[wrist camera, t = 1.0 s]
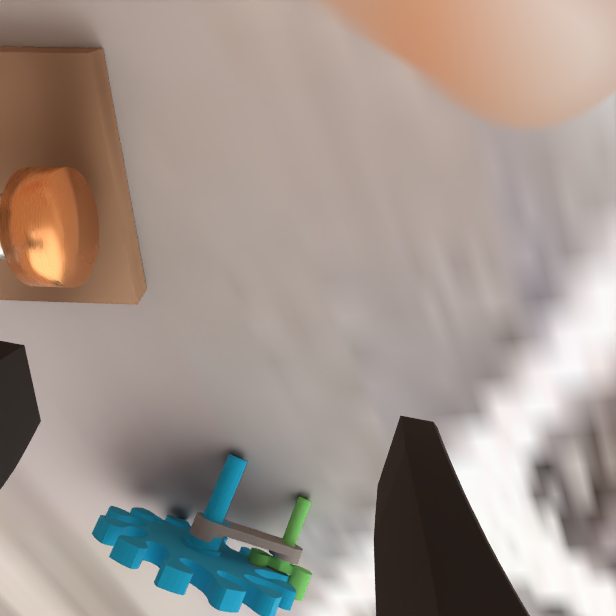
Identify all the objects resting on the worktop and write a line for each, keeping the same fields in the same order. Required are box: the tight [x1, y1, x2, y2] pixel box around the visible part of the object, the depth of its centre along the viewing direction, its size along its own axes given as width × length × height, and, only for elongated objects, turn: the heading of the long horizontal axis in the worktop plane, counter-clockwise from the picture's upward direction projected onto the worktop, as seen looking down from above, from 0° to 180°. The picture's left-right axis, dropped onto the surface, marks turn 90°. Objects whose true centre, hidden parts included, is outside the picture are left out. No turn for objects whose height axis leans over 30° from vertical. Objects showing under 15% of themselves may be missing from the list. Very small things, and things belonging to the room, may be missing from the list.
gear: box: [92, 454, 312, 616], centre depth 26 cm, size 11×6×10 cm
